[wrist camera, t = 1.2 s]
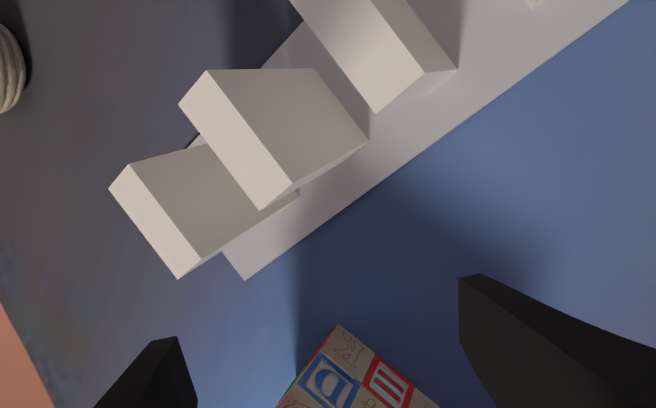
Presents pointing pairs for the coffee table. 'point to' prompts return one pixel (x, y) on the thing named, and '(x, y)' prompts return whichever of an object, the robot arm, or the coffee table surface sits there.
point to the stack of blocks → (350, 379)
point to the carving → (10, 70)
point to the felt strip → (415, 101)
